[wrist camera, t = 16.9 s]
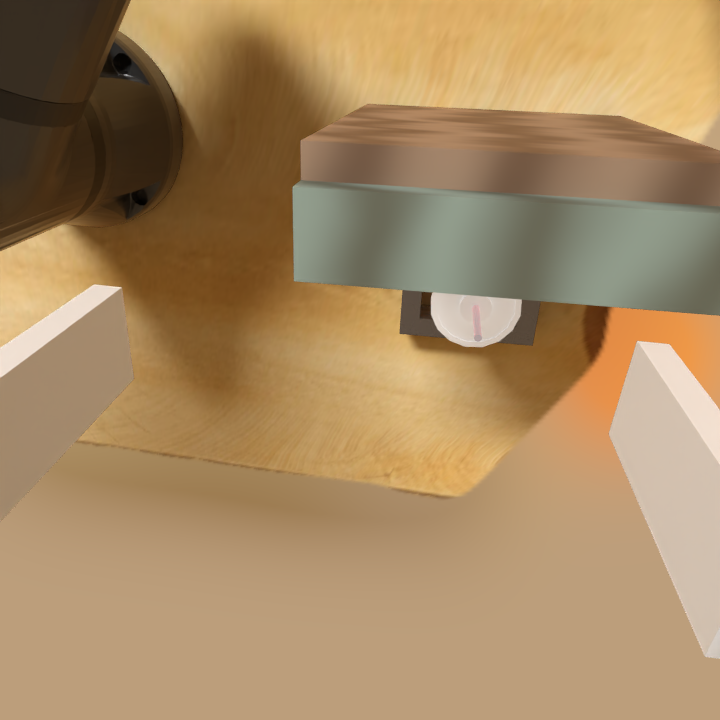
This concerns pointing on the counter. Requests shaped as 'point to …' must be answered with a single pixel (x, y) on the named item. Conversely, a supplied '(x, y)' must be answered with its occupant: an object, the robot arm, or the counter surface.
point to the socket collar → (422, 324)
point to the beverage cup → (474, 318)
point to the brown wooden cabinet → (510, 208)
